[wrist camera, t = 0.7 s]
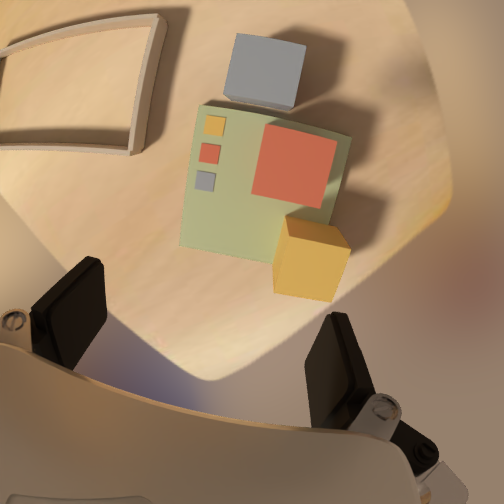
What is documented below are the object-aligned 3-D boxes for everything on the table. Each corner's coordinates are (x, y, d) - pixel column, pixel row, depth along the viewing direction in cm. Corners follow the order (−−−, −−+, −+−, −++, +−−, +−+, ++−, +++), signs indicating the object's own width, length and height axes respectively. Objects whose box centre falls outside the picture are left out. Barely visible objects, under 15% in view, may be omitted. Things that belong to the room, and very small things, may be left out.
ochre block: (284, 215, 30) (289, 236, 25) (336, 227, 30) (351, 249, 25) (272, 264, 33) (273, 292, 27) (321, 273, 33) (331, 302, 27)
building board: (201, 105, 26) (198, 104, 25) (349, 136, 27) (352, 137, 26) (181, 241, 33) (178, 246, 32) (312, 267, 34) (313, 272, 33)
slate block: (242, 50, 24) (237, 33, 18) (298, 60, 24) (306, 45, 19) (231, 100, 26) (223, 94, 21) (287, 111, 27) (293, 107, 21)
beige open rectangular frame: (0, 55, 21) (-12, 55, 18) (169, 21, 22) (160, 13, 19) (-12, 147, 27) (-24, 151, 25) (143, 153, 29) (132, 156, 26)
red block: (265, 124, 26) (265, 123, 21) (323, 138, 26) (337, 141, 21) (253, 180, 29) (250, 193, 23) (309, 193, 29) (320, 209, 23)
